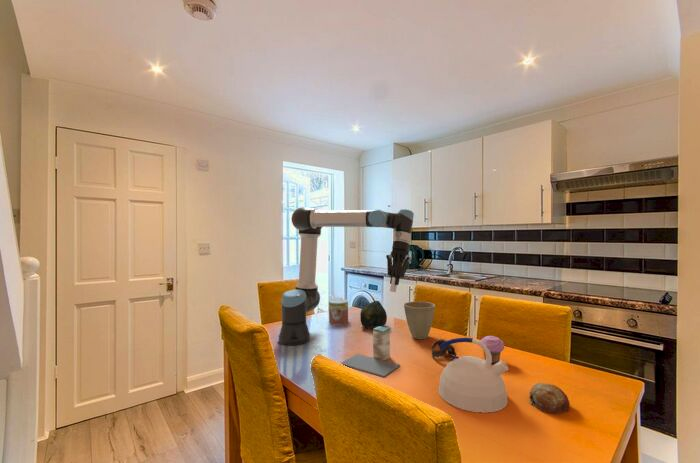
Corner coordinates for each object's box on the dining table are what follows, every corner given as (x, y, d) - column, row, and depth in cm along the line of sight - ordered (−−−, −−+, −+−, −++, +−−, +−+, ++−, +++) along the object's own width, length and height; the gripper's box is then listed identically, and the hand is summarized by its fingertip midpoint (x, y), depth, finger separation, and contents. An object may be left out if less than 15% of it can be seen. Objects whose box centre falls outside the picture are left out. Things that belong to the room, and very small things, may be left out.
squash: (350, 316, 177) (364, 298, 170) (368, 312, 188) (381, 295, 181) (365, 337, 169) (380, 319, 163) (382, 332, 180) (397, 315, 174)
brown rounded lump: (528, 408, 99) (517, 386, 99) (556, 392, 100) (545, 370, 100) (550, 428, 89) (538, 402, 89) (581, 410, 90) (569, 385, 90)
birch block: (373, 358, 131) (372, 329, 132) (379, 354, 136) (379, 326, 136) (383, 361, 129) (383, 331, 129) (390, 357, 133) (389, 328, 133)
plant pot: (441, 337, 155) (441, 305, 155) (420, 344, 147) (419, 309, 147) (419, 330, 168) (418, 299, 168) (398, 335, 159) (397, 303, 159)
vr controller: (461, 363, 126) (452, 347, 125) (439, 372, 128) (430, 356, 126) (453, 345, 138) (445, 330, 136) (433, 353, 140) (425, 338, 138)
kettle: (504, 421, 87) (503, 355, 87) (429, 401, 98) (429, 342, 98) (512, 390, 104) (511, 334, 104) (447, 375, 115) (447, 325, 115)
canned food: (326, 324, 182) (326, 303, 182) (331, 318, 193) (331, 298, 193) (346, 324, 180) (346, 303, 180) (349, 319, 191) (349, 299, 191)
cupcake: (480, 364, 124) (480, 338, 124) (479, 356, 132) (479, 331, 132) (505, 367, 121) (505, 340, 121) (503, 358, 129) (503, 334, 129)
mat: (340, 364, 126) (340, 363, 126) (357, 354, 136) (357, 353, 136) (384, 377, 114) (384, 376, 114) (400, 365, 124) (400, 364, 124)
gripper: (385, 239, 153) (376, 288, 149) (409, 240, 144) (400, 293, 140) (393, 243, 158) (385, 290, 154) (417, 244, 150) (409, 295, 146)
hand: (392, 291), depth 147 cm, fingers closed
